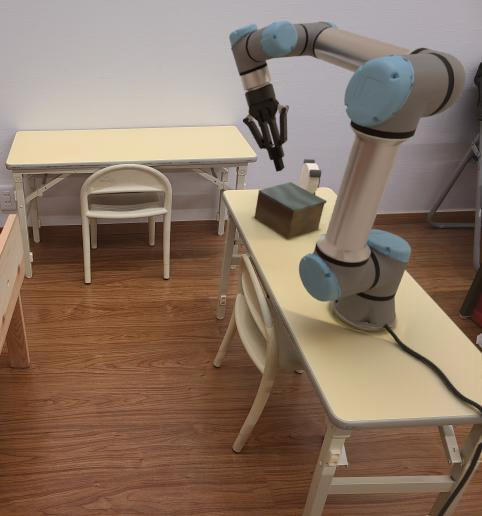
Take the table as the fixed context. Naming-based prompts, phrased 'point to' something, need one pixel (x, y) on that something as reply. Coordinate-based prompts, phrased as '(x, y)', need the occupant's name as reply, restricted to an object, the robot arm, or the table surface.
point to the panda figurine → (310, 176)
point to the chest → (287, 217)
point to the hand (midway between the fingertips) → (280, 169)
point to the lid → (292, 197)
